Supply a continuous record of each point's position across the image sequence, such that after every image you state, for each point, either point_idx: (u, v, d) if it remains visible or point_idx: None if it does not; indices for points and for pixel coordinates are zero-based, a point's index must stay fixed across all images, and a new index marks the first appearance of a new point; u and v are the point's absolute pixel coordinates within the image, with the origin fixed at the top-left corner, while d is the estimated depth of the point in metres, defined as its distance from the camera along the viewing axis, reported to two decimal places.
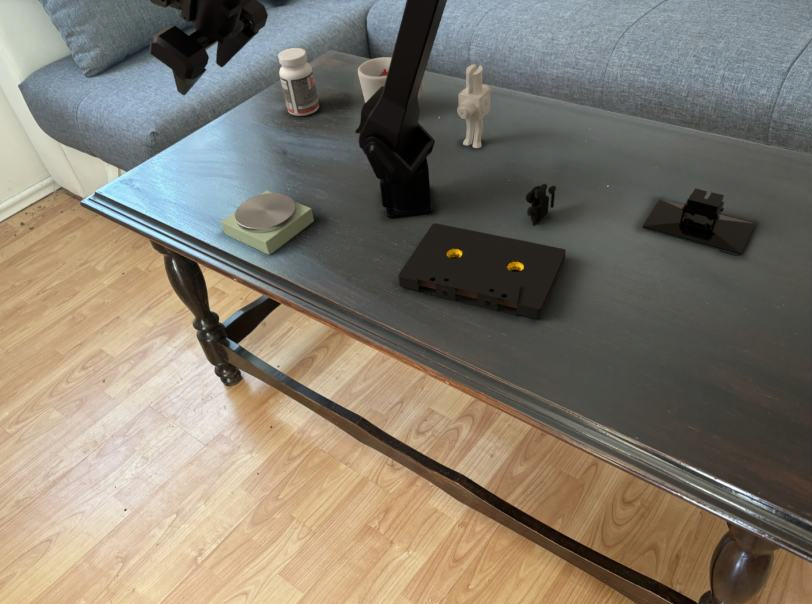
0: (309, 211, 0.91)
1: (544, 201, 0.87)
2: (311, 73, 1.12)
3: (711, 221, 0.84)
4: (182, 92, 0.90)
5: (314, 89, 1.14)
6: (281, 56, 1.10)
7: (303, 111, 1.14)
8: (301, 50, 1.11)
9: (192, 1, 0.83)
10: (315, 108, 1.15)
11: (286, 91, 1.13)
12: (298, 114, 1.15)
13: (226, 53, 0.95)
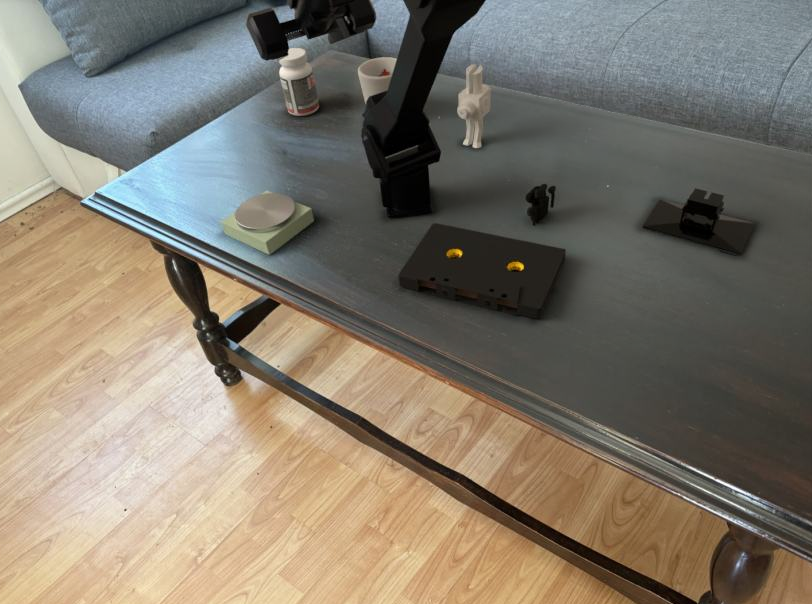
0: (309, 211, 0.91)
1: (544, 201, 0.87)
2: (311, 73, 1.12)
3: (711, 221, 0.84)
4: None
5: (314, 89, 1.14)
6: None
7: (303, 111, 1.14)
8: (301, 50, 1.11)
9: None
10: (315, 108, 1.15)
11: (286, 91, 1.13)
12: (298, 114, 1.15)
13: (334, 35, 1.03)
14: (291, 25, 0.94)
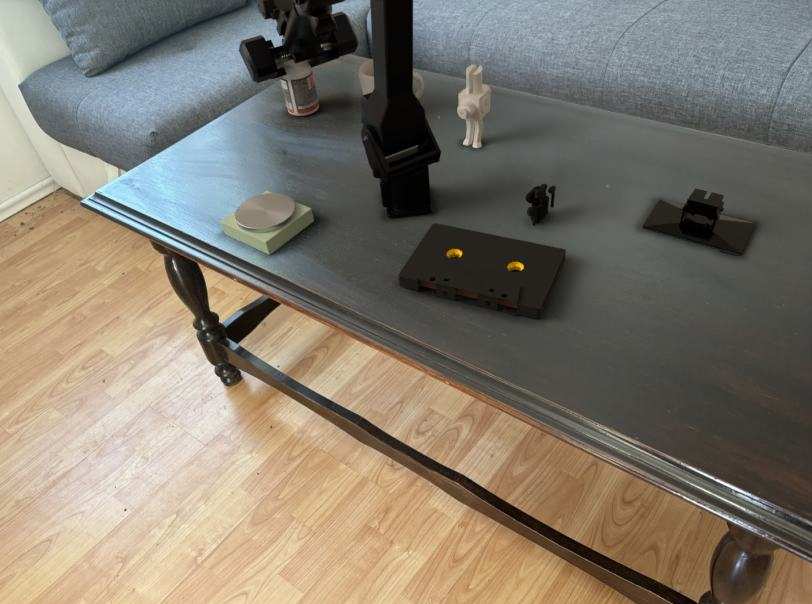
0: (309, 211, 0.91)
1: (544, 201, 0.87)
2: (311, 73, 1.12)
3: (711, 221, 0.84)
4: None
5: (314, 89, 1.14)
6: None
7: (303, 111, 1.14)
8: None
9: (284, 24, 1.01)
10: (315, 108, 1.15)
11: (286, 91, 1.13)
12: (298, 114, 1.15)
13: (312, 61, 1.12)
14: (280, 50, 1.03)
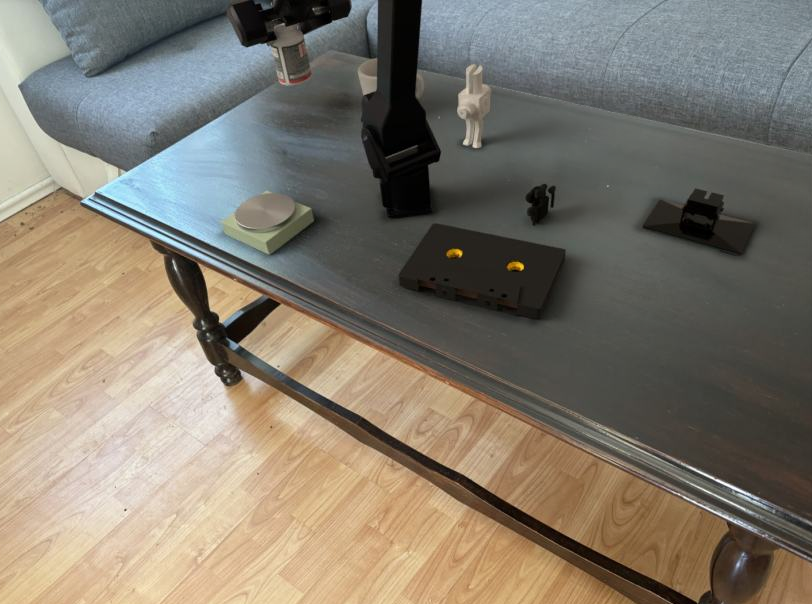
0: (309, 211, 0.91)
1: (544, 201, 0.87)
2: (303, 40, 1.07)
3: (711, 221, 0.84)
4: None
5: (306, 57, 1.09)
6: None
7: (295, 80, 1.10)
8: None
9: None
10: (307, 78, 1.11)
11: (277, 59, 1.08)
12: (290, 84, 1.10)
13: (304, 27, 1.07)
14: (270, 13, 0.99)
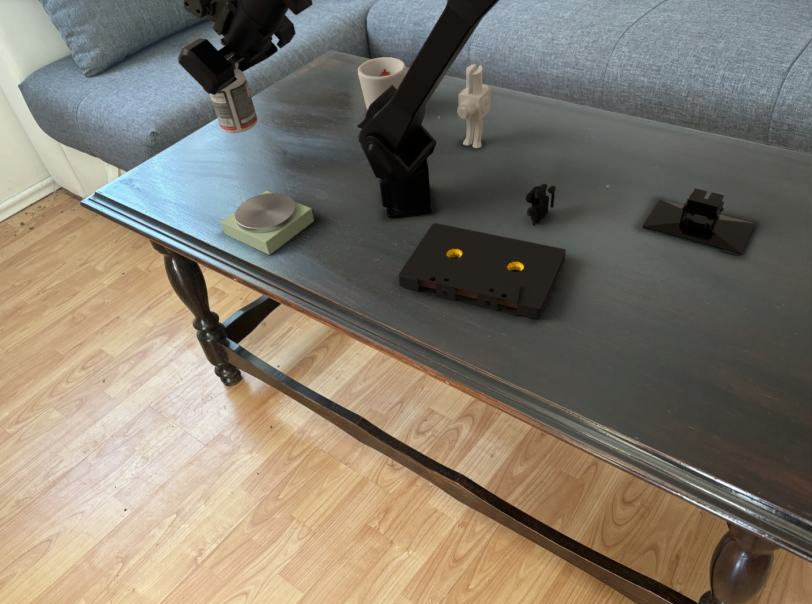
0: (309, 211, 0.91)
1: (544, 201, 0.87)
2: (245, 78, 0.95)
3: (711, 221, 0.84)
4: None
5: None
6: None
7: (247, 124, 0.97)
8: None
9: (227, 18, 0.84)
10: (256, 119, 0.99)
11: (224, 106, 0.94)
12: (242, 130, 0.97)
13: (241, 65, 0.95)
14: (227, 51, 0.86)
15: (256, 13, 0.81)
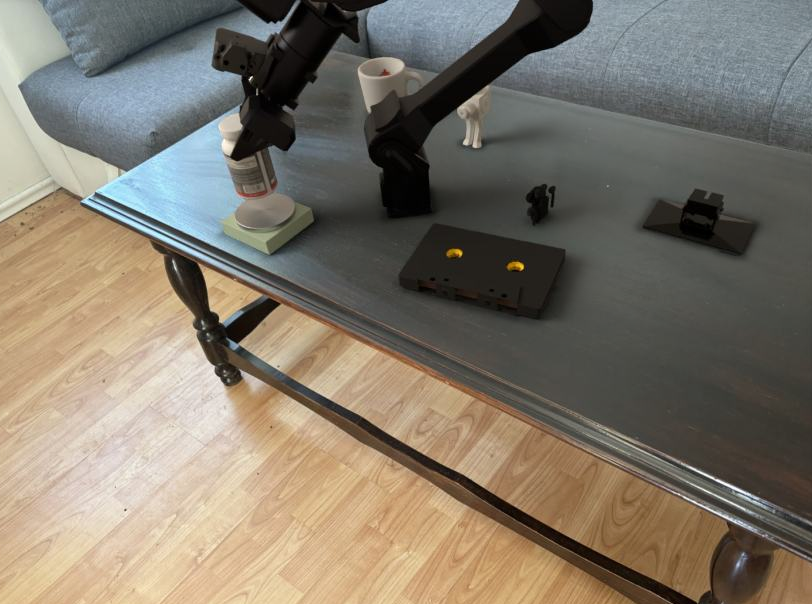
0: (309, 211, 0.91)
1: (544, 201, 0.87)
2: None
3: (711, 221, 0.84)
4: (238, 158, 0.82)
5: None
6: (234, 128, 0.81)
7: (275, 184, 0.88)
8: (236, 115, 0.83)
9: None
10: None
11: (254, 170, 0.84)
12: (272, 191, 0.88)
13: None
14: (275, 104, 0.77)
15: (313, 52, 0.75)
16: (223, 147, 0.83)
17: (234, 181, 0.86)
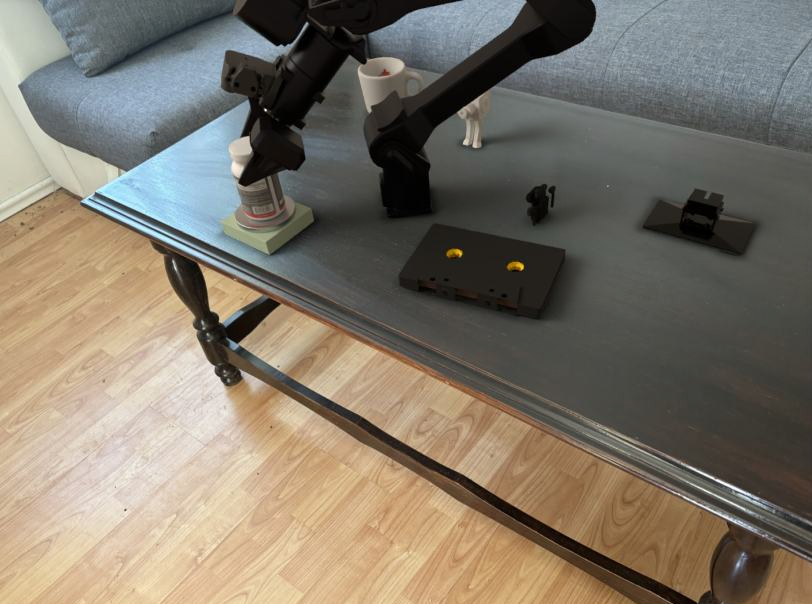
0: (309, 211, 0.91)
1: (544, 201, 0.87)
2: None
3: (711, 221, 0.84)
4: (246, 183, 0.82)
5: None
6: (245, 152, 0.82)
7: (283, 204, 0.89)
8: (245, 138, 0.85)
9: None
10: None
11: (264, 191, 0.86)
12: (280, 211, 0.89)
13: None
14: (284, 124, 0.79)
15: (321, 74, 0.76)
16: (233, 170, 0.84)
17: (243, 202, 0.88)
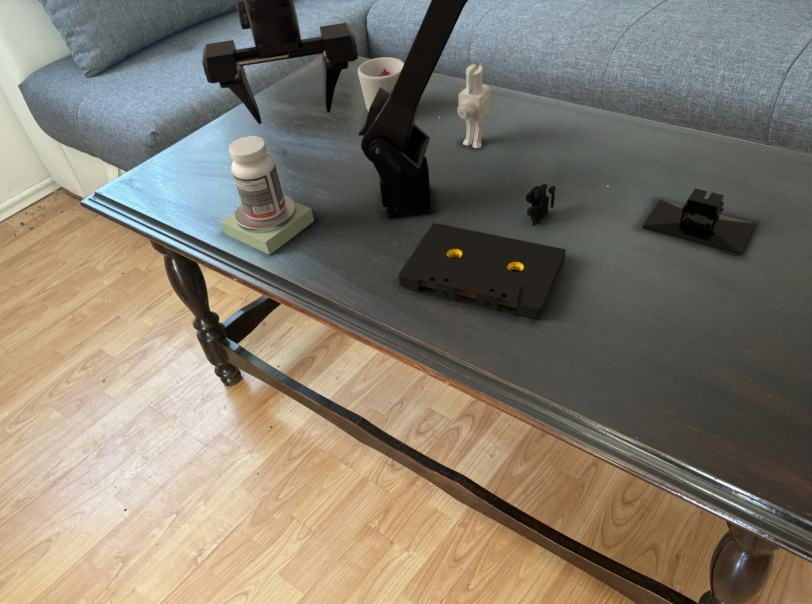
0: (309, 211, 0.91)
1: (544, 201, 0.87)
2: None
3: (711, 221, 0.84)
4: (256, 119, 0.87)
5: None
6: (245, 152, 0.82)
7: (283, 204, 0.89)
8: (245, 138, 0.85)
9: None
10: None
11: (264, 191, 0.86)
12: (280, 211, 0.89)
13: (326, 94, 0.86)
14: (248, 50, 0.80)
15: None
16: (233, 170, 0.84)
17: (243, 202, 0.88)
